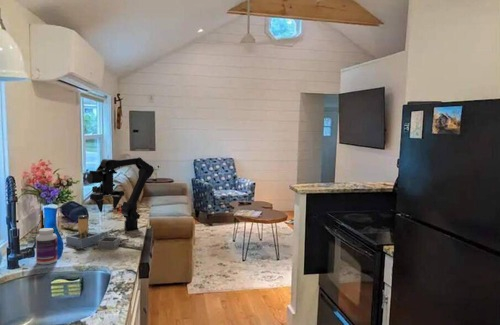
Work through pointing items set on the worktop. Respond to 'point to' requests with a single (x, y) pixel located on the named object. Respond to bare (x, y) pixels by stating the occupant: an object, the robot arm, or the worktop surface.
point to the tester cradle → (108, 242)
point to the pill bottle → (46, 246)
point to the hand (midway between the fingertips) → (107, 210)
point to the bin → (82, 240)
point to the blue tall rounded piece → (42, 217)
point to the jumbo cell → (82, 226)
